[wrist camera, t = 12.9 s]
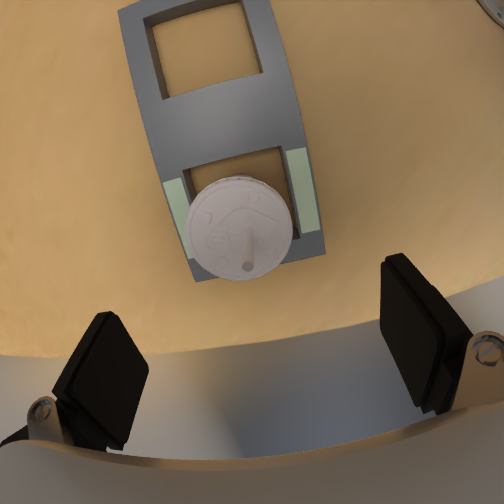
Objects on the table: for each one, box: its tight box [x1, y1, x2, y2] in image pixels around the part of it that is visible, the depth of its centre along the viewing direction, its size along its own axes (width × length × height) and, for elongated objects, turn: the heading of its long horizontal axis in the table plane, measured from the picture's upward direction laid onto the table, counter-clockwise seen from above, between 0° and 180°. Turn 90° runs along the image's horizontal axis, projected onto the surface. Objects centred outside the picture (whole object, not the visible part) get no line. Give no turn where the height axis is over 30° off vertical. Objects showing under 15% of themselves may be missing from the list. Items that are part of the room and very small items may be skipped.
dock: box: [118, 0, 326, 282], centre depth 22 cm, size 12×26×3 cm, turn 13°
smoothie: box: [185, 174, 293, 281], centre depth 19 cm, size 6×6×14 cm
